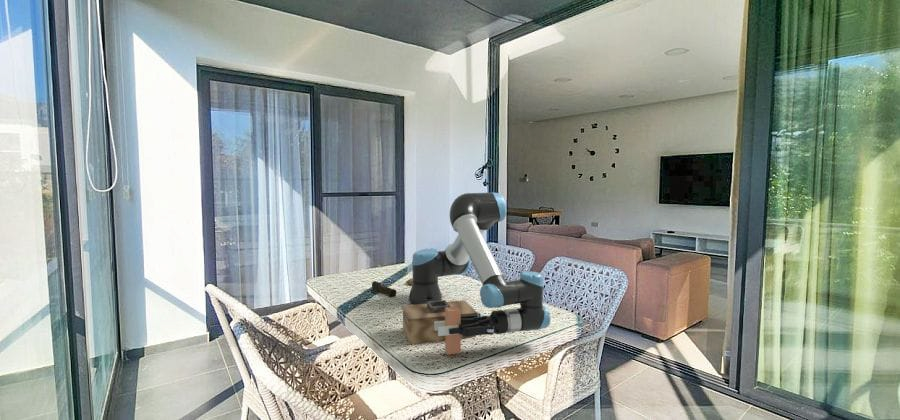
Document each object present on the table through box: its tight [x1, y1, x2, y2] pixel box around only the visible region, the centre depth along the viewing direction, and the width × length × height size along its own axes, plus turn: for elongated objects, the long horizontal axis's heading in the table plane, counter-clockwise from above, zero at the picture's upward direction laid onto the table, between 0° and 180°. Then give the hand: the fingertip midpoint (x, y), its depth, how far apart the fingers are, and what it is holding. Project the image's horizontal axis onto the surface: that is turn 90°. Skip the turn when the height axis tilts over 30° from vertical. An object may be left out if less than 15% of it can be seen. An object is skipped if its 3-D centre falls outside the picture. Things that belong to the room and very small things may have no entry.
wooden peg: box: [444, 306, 462, 355], centre depth 131 cm, size 4×4×14 cm
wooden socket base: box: [401, 299, 478, 345], centre depth 149 cm, size 25×15×11 cm, turn 106°
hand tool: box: [371, 280, 398, 299], centre depth 200 cm, size 19×4×5 cm, turn 40°
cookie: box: [406, 277, 413, 287], centre depth 217 cm, size 10×11×3 cm
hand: (436, 328), depth 129 cm, fingers closed on wooden peg, 4 cm apart
